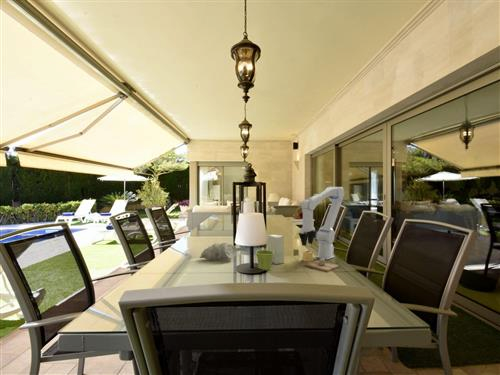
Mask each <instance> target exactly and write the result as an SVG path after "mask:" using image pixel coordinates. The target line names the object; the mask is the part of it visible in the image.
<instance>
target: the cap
mask: <svg viewBox="0 0 500 375" xmlns="http://www.w3.org/2000/svg"><path fill="white" fill-rule="evenodd" d="M313 255H314V254H313V251H311V250H303V251H302V261H303V262H305V263H309V262H312V261H314V260H313V259H314V256H313Z"/></svg>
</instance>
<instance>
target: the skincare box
mask: <svg viewBox="0 0 500 375" xmlns="http://www.w3.org/2000/svg"><path fill="white" fill-rule="evenodd" d="M266 237H267V239H266V240H267V243H266V244H267V250H269V251H273V252H274V254H273V257H272V262H271V264H275V265H278V264H280V265H281V264H284V263H285V242H284V241H285V238H284V235H279V234H267V236H266Z"/></svg>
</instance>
